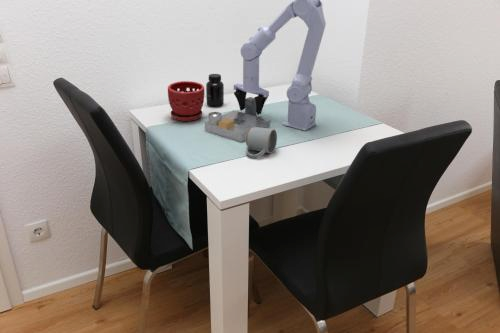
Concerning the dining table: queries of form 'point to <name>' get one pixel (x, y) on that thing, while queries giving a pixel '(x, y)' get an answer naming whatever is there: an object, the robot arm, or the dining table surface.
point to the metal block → (250, 106)
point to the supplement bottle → (215, 91)
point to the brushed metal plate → (234, 124)
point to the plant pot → (186, 100)
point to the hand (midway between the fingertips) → (250, 111)
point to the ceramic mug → (261, 141)
